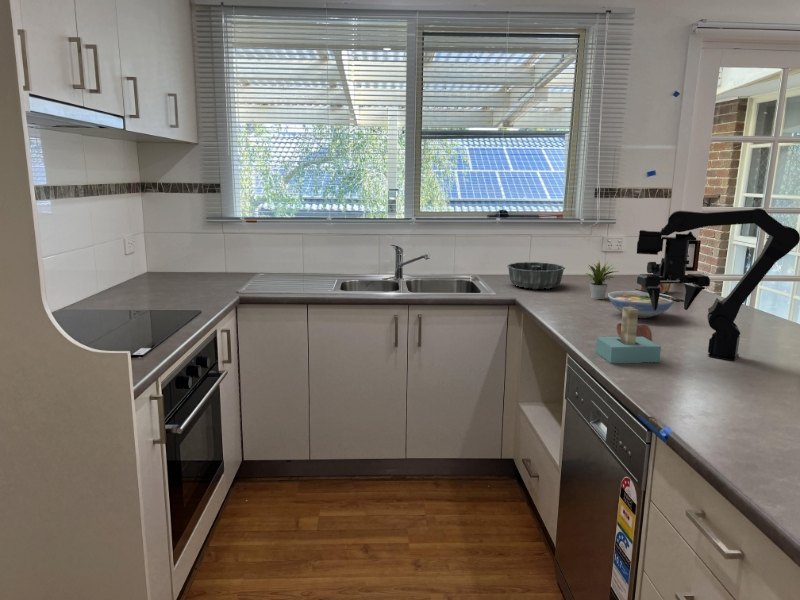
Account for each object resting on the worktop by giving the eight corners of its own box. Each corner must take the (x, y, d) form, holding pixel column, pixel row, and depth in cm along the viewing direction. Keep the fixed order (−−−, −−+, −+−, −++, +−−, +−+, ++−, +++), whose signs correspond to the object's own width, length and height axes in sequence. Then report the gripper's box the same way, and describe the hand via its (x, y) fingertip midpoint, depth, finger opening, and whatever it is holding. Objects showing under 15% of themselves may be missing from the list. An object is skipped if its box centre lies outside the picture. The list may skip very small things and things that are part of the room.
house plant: (603, 304, 226) (607, 263, 223) (573, 298, 236) (576, 260, 233) (621, 299, 236) (624, 260, 232) (591, 294, 246) (594, 257, 242)
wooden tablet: (616, 326, 194) (616, 321, 194) (647, 328, 191) (647, 323, 190) (617, 346, 169) (618, 341, 169) (654, 349, 166) (654, 343, 166)
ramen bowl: (592, 310, 215) (594, 289, 214) (645, 307, 220) (647, 287, 218) (631, 325, 191) (633, 302, 190) (690, 322, 196) (692, 299, 194)
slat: (618, 355, 158) (622, 306, 155) (627, 355, 159) (631, 306, 156) (625, 359, 154) (629, 310, 152) (633, 359, 155) (638, 309, 152)
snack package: (654, 299, 236) (655, 284, 235) (638, 297, 240) (639, 282, 239) (670, 292, 251) (671, 277, 250) (654, 290, 256) (656, 276, 254)
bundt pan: (563, 293, 249) (565, 271, 247) (503, 290, 256) (504, 268, 254) (563, 283, 274) (565, 263, 272) (509, 281, 281) (510, 261, 279)
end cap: (595, 352, 161) (596, 337, 160) (641, 351, 162) (642, 336, 161) (610, 363, 151) (611, 347, 150) (659, 362, 152) (660, 346, 151)
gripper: (691, 252, 166) (685, 303, 170) (630, 252, 165) (625, 304, 168) (714, 257, 155) (707, 311, 159) (649, 257, 154) (643, 312, 158)
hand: (670, 309), depth 161 cm, fingers open, 9 cm apart
